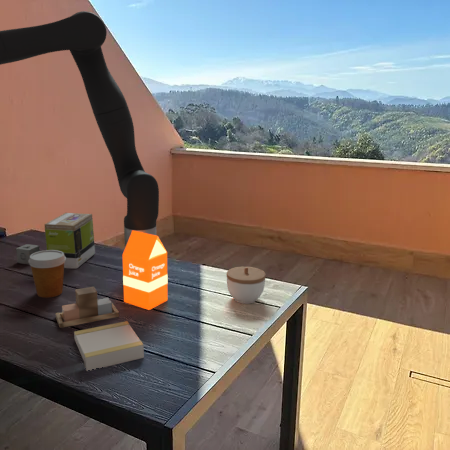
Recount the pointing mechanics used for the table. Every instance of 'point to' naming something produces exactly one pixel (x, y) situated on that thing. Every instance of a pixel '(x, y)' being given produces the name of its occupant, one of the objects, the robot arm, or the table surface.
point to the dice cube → (26, 253)
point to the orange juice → (145, 271)
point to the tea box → (71, 237)
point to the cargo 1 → (70, 312)
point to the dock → (108, 345)
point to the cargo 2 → (104, 306)
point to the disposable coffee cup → (48, 272)
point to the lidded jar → (245, 283)
